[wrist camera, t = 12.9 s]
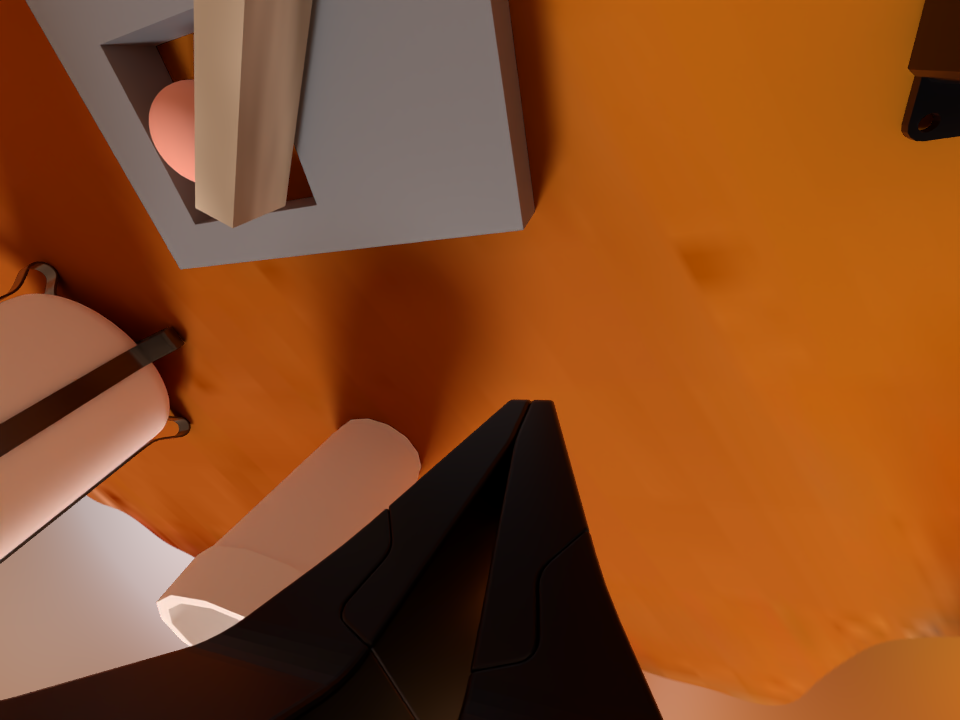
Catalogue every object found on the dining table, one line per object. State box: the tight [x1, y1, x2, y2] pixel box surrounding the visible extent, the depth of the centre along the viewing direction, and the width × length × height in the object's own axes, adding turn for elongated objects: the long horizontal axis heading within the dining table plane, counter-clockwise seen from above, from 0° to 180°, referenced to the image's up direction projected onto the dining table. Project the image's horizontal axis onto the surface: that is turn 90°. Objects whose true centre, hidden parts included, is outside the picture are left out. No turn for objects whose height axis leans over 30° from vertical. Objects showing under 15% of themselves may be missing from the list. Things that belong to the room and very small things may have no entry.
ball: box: [149, 80, 195, 182], centre depth 18 cm, size 4×4×4 cm
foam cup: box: [157, 419, 421, 646], centre depth 25 cm, size 10×9×13 cm
